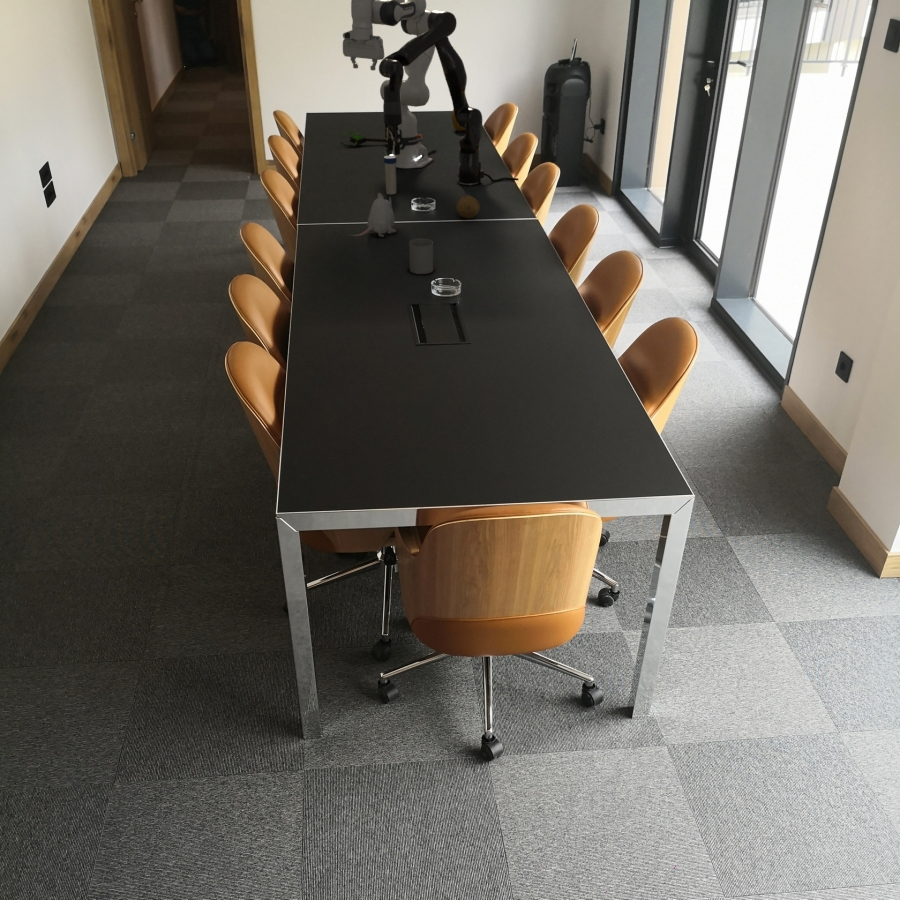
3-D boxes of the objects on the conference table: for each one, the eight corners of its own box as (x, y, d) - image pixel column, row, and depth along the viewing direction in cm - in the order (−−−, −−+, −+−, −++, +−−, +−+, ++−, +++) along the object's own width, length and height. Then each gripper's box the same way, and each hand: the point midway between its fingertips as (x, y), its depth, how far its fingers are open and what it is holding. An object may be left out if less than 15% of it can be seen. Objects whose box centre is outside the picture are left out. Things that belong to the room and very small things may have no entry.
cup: (409, 265, 311) (408, 238, 306) (432, 265, 312) (431, 238, 307) (410, 274, 304) (409, 246, 299) (433, 273, 305) (433, 246, 299)
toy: (401, 232, 342) (400, 194, 334) (357, 247, 328) (354, 207, 320) (386, 227, 348) (384, 189, 339) (341, 241, 333) (338, 202, 325)
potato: (477, 211, 365) (478, 192, 361) (481, 222, 353) (481, 202, 349) (454, 211, 364) (454, 192, 360) (457, 222, 352) (457, 203, 348)
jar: (385, 191, 390) (384, 156, 382) (396, 191, 390) (394, 156, 382) (386, 194, 386) (385, 159, 378) (397, 194, 386) (395, 159, 378)
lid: (383, 160, 383) (383, 155, 382) (395, 160, 384) (395, 155, 382) (384, 164, 378) (384, 158, 377) (397, 163, 379) (396, 158, 378)
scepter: (396, 128, 463) (340, 126, 461) (396, 143, 456) (339, 141, 454) (396, 138, 468) (340, 135, 466) (396, 153, 461) (339, 151, 459)
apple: (471, 132, 486) (471, 108, 479) (451, 132, 486) (451, 108, 479) (470, 128, 495) (471, 104, 488) (452, 128, 495) (452, 104, 488)
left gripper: (386, 35, 371) (387, 70, 378) (348, 32, 380) (350, 66, 387) (378, 37, 366) (379, 72, 374) (339, 33, 375) (341, 68, 383)
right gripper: (407, 114, 353) (408, 155, 362) (395, 107, 364) (396, 147, 373) (389, 116, 350) (391, 157, 359) (378, 109, 361) (379, 149, 370)
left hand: (364, 69), depth 380 cm, fingers open, 8 cm apart
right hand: (393, 152), depth 366 cm, fingers open, 8 cm apart
